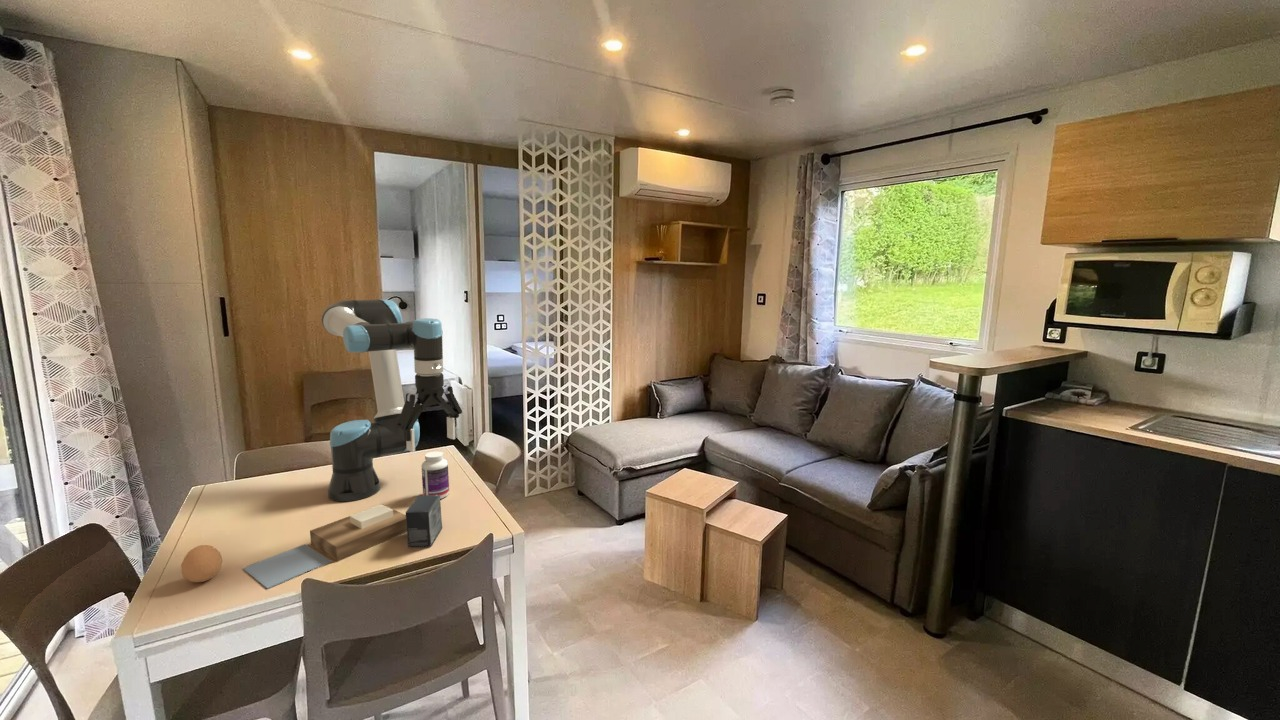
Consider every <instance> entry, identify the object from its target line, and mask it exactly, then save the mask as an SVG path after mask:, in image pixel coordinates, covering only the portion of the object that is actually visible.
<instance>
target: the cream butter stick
mask: <svg viewBox="0 0 1280 720" xmlns="http://www.w3.org/2000/svg"><path fill="white" fill-rule="evenodd" d="M382 504H383V503H381V504H379V505H376V506H373V507H370V508H367V509H365V510H362V511H359V512H356V513H354V514H351V515H349V516H350V523H352V524H354V525H355V526H357V527H359V528H361V529H363V528H366V527H368V526H371V525H373V524H376V523H378V522H381V521H383V520H386V519H388V518H391V517H394V516H393V510H392V509H393V508H392V509H390V508H391V507H390V508H388V507H389V506H388V507H386V506H387V505H386V506H384V505H385V504H383V505H382Z"/></svg>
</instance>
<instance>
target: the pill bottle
mask: <svg viewBox="0 0 1280 720" xmlns="http://www.w3.org/2000/svg"><path fill="white" fill-rule="evenodd" d="M420 467H421V481H422V495H440V500H442V499H444V498H446V497H447V496H448V495H449V494H450V479H449V464H448V460H447V459H445V458H444V452H443V451H430V452H427V453H425V455H424V461H423V462H422V463H421V466H420Z"/></svg>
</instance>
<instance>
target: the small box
mask: <svg viewBox="0 0 1280 720" xmlns="http://www.w3.org/2000/svg"><path fill="white" fill-rule="evenodd" d="M441 503H442V502H441V499H440V495H423V494H421V495H418V496H417V497H416V498H415V500H414V501H413V502H412V503H411V505H410V506H409V507H408V508H407V510H406V511H405V515H406V524H407V532H406V534H407V535H406V536H407V548H409V549H411V548H413V549H414V548H431V547H432V546H433V544H434V543H435V541H436V539H437V538H438V537H439V534H441V531H442V530H443V521H442V520H443V519H442V506H441V505H442V504H441Z"/></svg>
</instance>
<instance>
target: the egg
mask: <svg viewBox="0 0 1280 720" xmlns="http://www.w3.org/2000/svg"><path fill="white" fill-rule="evenodd" d="M222 565H223V557H222V554H221V552H220V551H219V550H218V549H217V548H216V547H214V546H212V545H209V544H208V545H207V544H201V545H197V546H195V547H193V548H192V549H190V550H189V551H188V552H187V554H185V556H184V558H183V559H182V563H181V570H180V571H181V574H182V576H183V577H184V578H185V579H186V580H187V581H190V582H192V583H204V582H207V581H209V580H212V579H213V578H214V577H215V576H216V575H217V574H218V573H219V571H220V570H221V568H222Z"/></svg>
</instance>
